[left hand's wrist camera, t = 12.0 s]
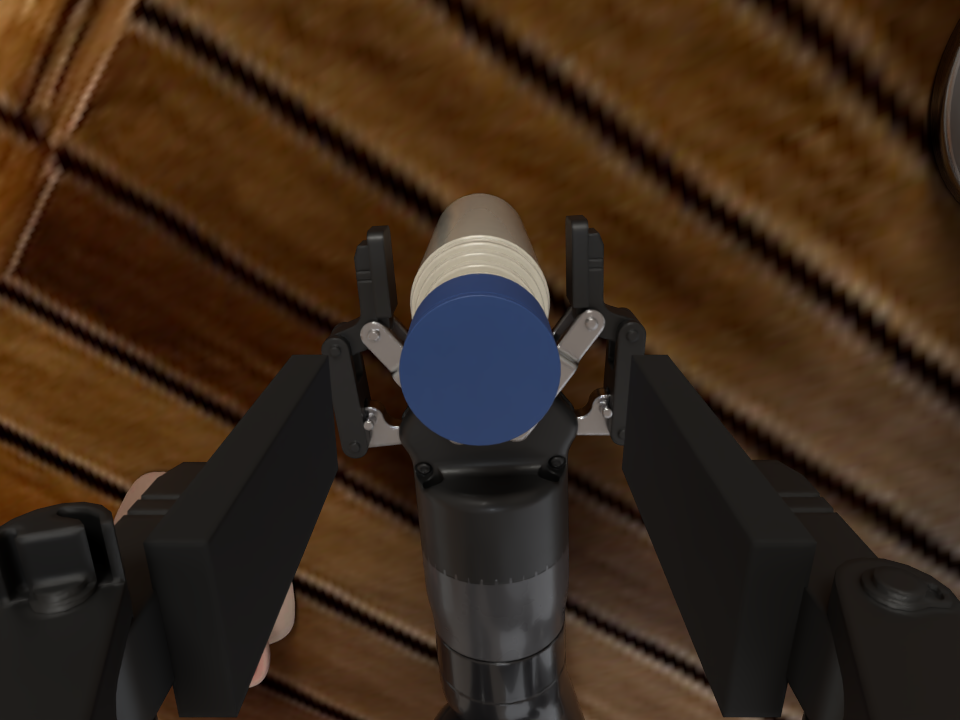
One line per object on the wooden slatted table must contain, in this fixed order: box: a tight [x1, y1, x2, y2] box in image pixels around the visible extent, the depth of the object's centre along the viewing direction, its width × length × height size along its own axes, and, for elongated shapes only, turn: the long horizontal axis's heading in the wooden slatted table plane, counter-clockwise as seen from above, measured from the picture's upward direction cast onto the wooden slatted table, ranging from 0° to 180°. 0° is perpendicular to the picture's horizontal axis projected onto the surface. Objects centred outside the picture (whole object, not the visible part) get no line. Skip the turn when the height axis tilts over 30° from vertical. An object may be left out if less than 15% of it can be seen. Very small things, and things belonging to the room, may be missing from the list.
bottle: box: [410, 194, 550, 319], centre depth 26 cm, size 5×5×19 cm
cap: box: [399, 273, 561, 446], centre depth 18 cm, size 4×4×2 cm
